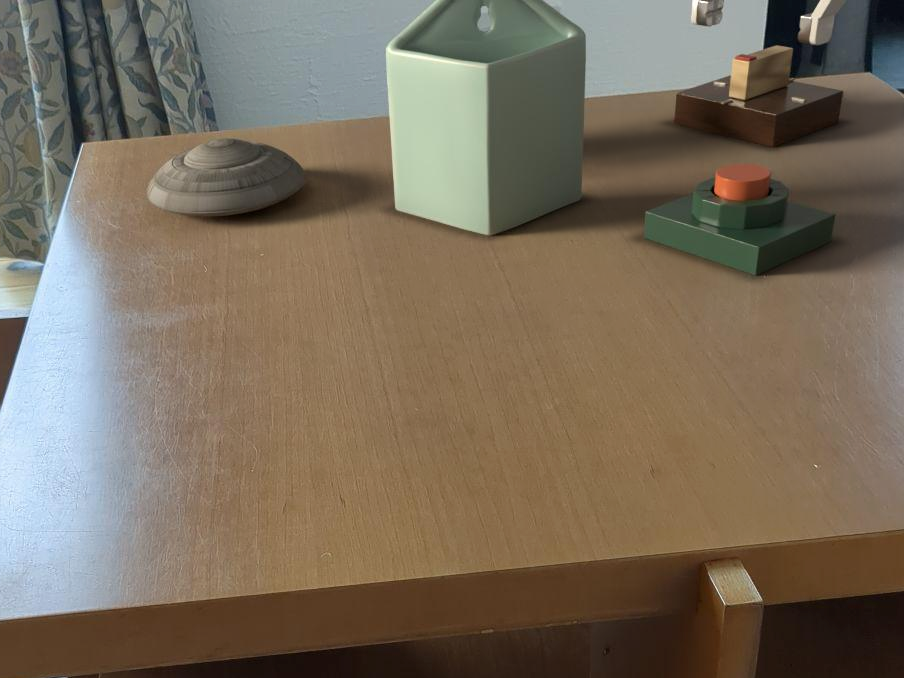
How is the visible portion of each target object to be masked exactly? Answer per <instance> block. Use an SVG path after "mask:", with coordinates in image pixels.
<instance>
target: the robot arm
mask: <svg viewBox="0 0 904 678" xmlns="http://www.w3.org/2000/svg"><path fill="white" fill-rule="evenodd" d="M846 1H847V0H819V2H818V3H817V5H816V7H815V8H814V10H813V12H810V13H805V14H802V15H800V17H799V25H798V27H799V29H800V30H799V31H798V33H797V40H798V42H799V43H802V44H807V45H814V46H820V45H824V44H826V43H828V42H830V40H831V38H832V35H833V30H834V25H835V24H834V23H835V16H836V14H838V13H839V11H840V10H841V8H842V7H843V5H844V4H845V3H846ZM691 2H692V3H691V15H690V16H691V17H690V21H691V24H692V25H695V26H700V27H701V26H702V27H712V26H716V25H719V24H720V23H721V22H722V19H723V14H724V13H723V11H722V10H723V9H724V5H725V0H692V1H691Z"/></svg>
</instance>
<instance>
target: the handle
mask: <svg viewBox="0 0 904 678" xmlns="http://www.w3.org/2000/svg"><path fill="white" fill-rule="evenodd" d="M793 52H794V48H793V47H788V46H782V45H778V44H777V45H773V46H770V47H766V48H763V49H761V50H758V51H754V52H751V53H748V54H744V53H741V54H738V55H735V56H734V58H733V59H732V63H731V73H730V75H731V81H730V90H729V97H733V98H738V99H742V100H747V99H750V98H753V97H755V96H758V95H761V94H764V93H767V92H770V91H773V90H776V89H779V88H782V87H785V86H788V83H789V79H790V74H791V68H792V59H793Z"/></svg>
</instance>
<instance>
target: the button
mask: <svg viewBox="0 0 904 678" xmlns="http://www.w3.org/2000/svg"><path fill="white" fill-rule="evenodd" d="M771 175H772V173H771V170H770V169H769V168H767V167H766V166H765V167H764V166H762V165H757V164H750V163H736V164H729V165H725V166H722V167H719V168H718V169H717V170H716V171H715V177H716V178H715V188H714V195H715V196H716V197H720V198H723V199H727V200H740V201H748V200H757V199H762V198H765V197H767V196H768V191H769V184H770V179H771Z"/></svg>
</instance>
